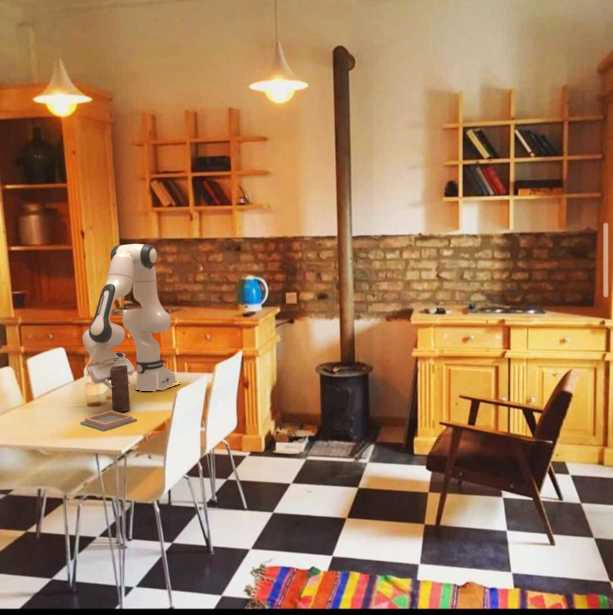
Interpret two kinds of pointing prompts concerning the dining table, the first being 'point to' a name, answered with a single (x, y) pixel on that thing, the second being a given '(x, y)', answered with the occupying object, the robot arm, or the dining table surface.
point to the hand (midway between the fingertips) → (120, 385)
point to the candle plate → (108, 420)
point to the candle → (120, 388)
